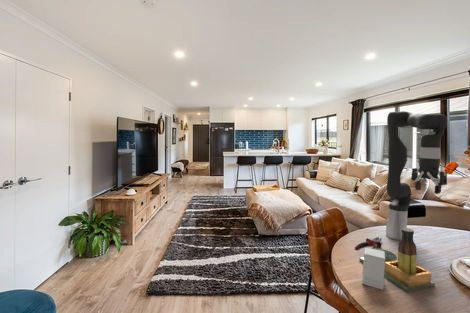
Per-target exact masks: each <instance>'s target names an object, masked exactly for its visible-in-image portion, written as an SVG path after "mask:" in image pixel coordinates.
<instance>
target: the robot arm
mask: <svg viewBox="0 0 470 313" xmlns="http://www.w3.org/2000/svg"><path fill="white" fill-rule="evenodd" d="M386 120H387V121H386V122H387V135H388V148H387V149H388V167H387V168H388V171H387V172H388V174H387V182H386V193H387V195H388V197H390V198H391V199H393V200H392V201H391V202H389V204H388V216H387V218H388V219H387V220H386V228H385V229H386V230H385V236H387V237H388V238H390V239H392V240H396V241H401V240H402V228H407V225H408V213H409V212H408V211H409V208H410V204H411V198H412V188H411V186H410V185H409V184H408V183H406V182H401V179H402V178H401V177H402V173H403V171H404V169H405V166H406V164H407V162H408V149H407V146H406V145H405V143H404V142H403V141H402V140H401V138H400V137H399V135H398V132H397V128H406V127H411V128H417V129H418V130H432V132H431V133H428V134H423V135H422V136H421V137H420V149H419V156H418V157H419V158H418V167H419V168H418V167H414V168H412V169H411V178H410V180H411V181H414V182H415V183H414V184H415V186H414V188H415V190H417V191H421V188H422V181H423V180H424V179H426V180H431V181H432V182H433V183H434V184H435V185H434V194H436V195H440V193H442V186H446V185H448V172H447V171H445V170H444V171H440V170H439V169H440V166H441V142H442V141H441V140H442V136H443V134H444V132H445V129H446V128H447V125H448V118H447V116H446V115H445V114H443V113H428V114H427V113H413V112H410V111H405V110H403V111H391V112H389V113H388V114H387V119H386Z"/></svg>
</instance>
